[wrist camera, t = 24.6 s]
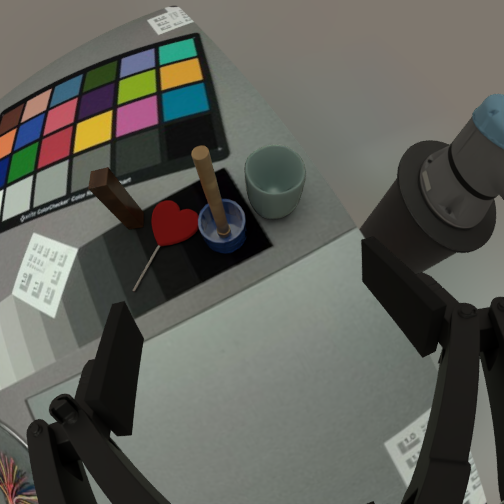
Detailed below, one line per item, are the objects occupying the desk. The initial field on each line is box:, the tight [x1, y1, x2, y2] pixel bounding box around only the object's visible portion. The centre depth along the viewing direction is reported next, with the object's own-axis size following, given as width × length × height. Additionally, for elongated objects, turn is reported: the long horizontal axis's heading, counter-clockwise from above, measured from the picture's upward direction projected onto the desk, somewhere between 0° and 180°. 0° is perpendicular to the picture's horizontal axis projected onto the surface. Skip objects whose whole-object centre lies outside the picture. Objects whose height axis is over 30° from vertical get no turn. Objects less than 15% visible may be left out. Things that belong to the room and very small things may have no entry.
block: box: [89, 167, 144, 229], centre depth 41 cm, size 3×3×14 cm
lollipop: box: [133, 201, 199, 292], centre depth 46 cm, size 8×1×15 cm
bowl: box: [198, 199, 247, 254], centre depth 45 cm, size 6×6×5 cm
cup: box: [245, 145, 306, 219], centre depth 43 cm, size 8×8×10 cm
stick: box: [192, 146, 231, 238], centre depth 37 cm, size 2×2×20 cm
